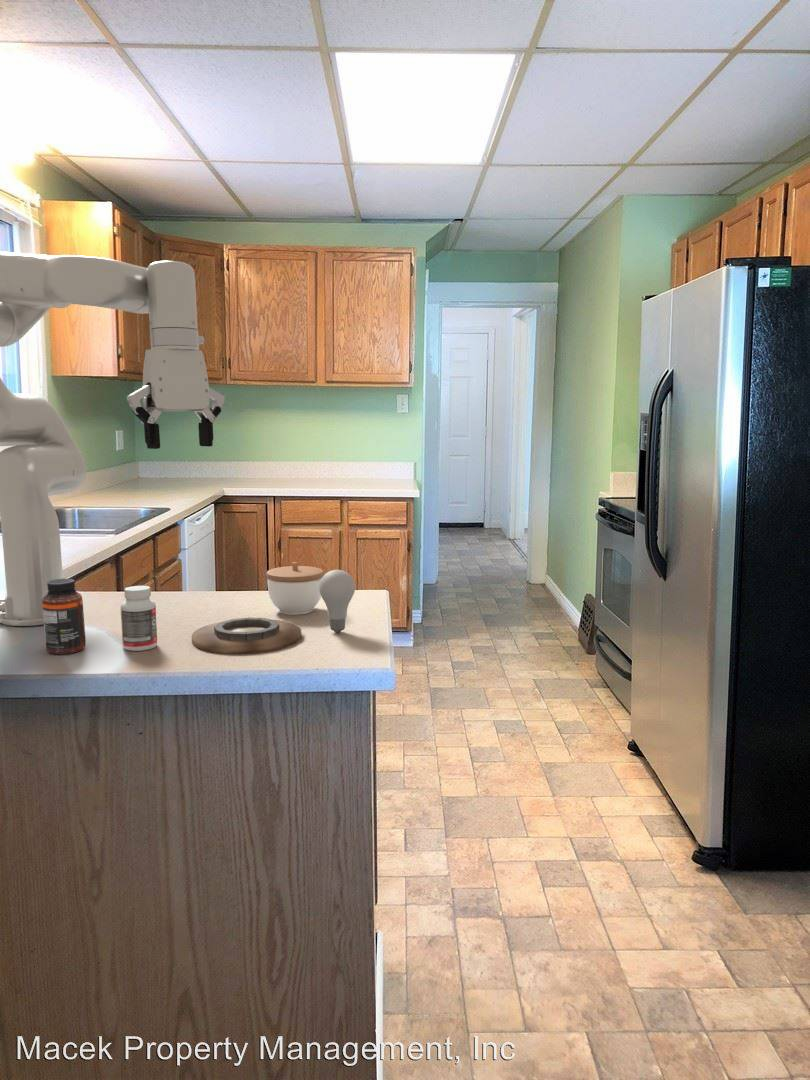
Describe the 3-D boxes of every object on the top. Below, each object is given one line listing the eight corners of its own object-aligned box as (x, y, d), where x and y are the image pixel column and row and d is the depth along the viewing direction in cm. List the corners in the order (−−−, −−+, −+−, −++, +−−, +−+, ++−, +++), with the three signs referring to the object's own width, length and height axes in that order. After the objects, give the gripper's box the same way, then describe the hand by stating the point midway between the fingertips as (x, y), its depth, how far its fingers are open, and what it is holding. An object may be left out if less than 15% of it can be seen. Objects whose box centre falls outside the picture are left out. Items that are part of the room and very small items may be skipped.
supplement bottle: (74, 642, 136) (69, 575, 134) (93, 649, 132) (89, 580, 131) (38, 651, 132) (33, 581, 130) (57, 658, 128) (52, 586, 126)
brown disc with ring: (203, 659, 127) (202, 645, 127) (183, 631, 143) (182, 618, 143) (315, 645, 134) (315, 632, 134) (284, 620, 151) (284, 608, 150)
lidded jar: (335, 610, 158) (335, 562, 156) (291, 621, 150) (290, 570, 149) (299, 601, 165) (299, 555, 164) (256, 611, 157) (254, 562, 156)
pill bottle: (161, 648, 133) (159, 588, 131) (127, 653, 130) (124, 593, 129) (151, 640, 137) (149, 583, 136) (118, 645, 134) (115, 586, 133)
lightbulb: (323, 638, 138) (322, 574, 137) (316, 629, 144) (315, 567, 143) (359, 636, 140) (358, 572, 138) (351, 626, 146) (350, 565, 144)
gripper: (208, 345, 143) (213, 445, 146) (113, 340, 131) (120, 449, 134) (232, 342, 138) (237, 445, 141) (135, 337, 126) (142, 450, 129)
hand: (180, 447), depth 137 cm, fingers open, 9 cm apart
